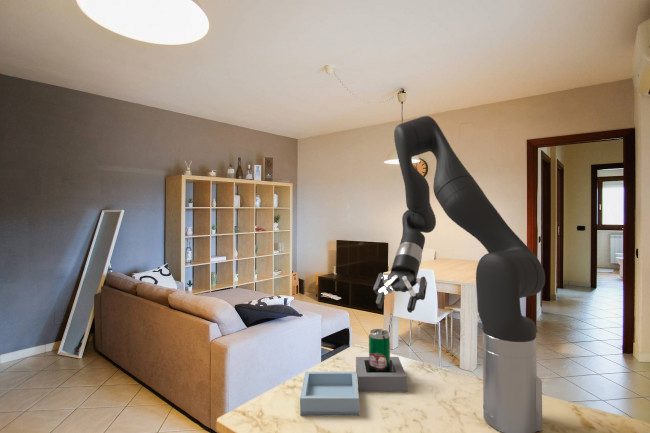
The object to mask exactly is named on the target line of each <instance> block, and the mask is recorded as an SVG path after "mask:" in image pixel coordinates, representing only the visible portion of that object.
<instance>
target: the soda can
mask: <svg viewBox="0 0 650 433" xmlns="http://www.w3.org/2000/svg"><path fill="white" fill-rule="evenodd" d="M390 338H391V336H390V334H389V331H388V330H387V329H383V328H373V329H371V330H370V333H369V334H368V357H369V373H390V357H391V341H390V340H391V339H390Z"/></svg>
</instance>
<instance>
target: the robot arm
mask: <svg viewBox="0 0 650 433" xmlns="http://www.w3.org/2000/svg"><path fill="white" fill-rule="evenodd" d="M393 131H394V132H393V133H394V134H393V138H394V139H393V140H394V145H395V150H396V156H397V158H398V164H399V168H400V170H401V171H400V172H401V176H402V180H403V183H404V190H405V191H404V192H405V204H406V208H407V210H406V211H404V213H403V214H402V220H401V224H402V236H401V240H400V243H399V246H398V248H397V250H396V253H395V256H394V259H393V263H392V266H391V269H390V273H388V275H386V274H385V275H384V273H382V272H380V273H378V275H377V278H376V281H375V283H374V285H373V291H374V293H375V294H376V300H375V303H376V306H377V308H378V309H382V308H383V305H384V301H385V297H386V296H387V295H388V294H391V293H393V292H397V293H398V292H402V293H406V292H408V293H409V295H410V296H409V299H408V303H407V307H406V308H407V312H408V313H410V314H411V313H413V312H414V311H415V309H416V305H417V301H420V300H421V301H424V300H425V298H426V294H427V293H426V292H427V286H428V281H427V278H426V276H421V277H419V278H417V277H418V274H419V270H420V265H421V264H422V257H423V255H422V254H423V251H424V247H425V244H426V237H425V235H424V233H425V234H428V233H431V232H433V231H434V229H435V228H436V225H437V224H436V223H437V218H436V215H435V213H434V210H433V208H432V205H431V200H430V199H431V197H430V195H431V194H430V191H431V190H430V185H429V183H428V180H427V179H426V177H425V176H424V175H423V174H422V173H421V172H420V171H419V170H417V168H416V167H415V166H414V165H413V159H412V158H414V157H416V156H419V155H422V154H425V153H429V152H431V153H432V154H433V155H434V157H435V161H436V166H435V173H434V178H433V184H432V185H433V188H432V189H433V194H434V197H435V199H436V200H437V202H438V204H439V205H440V206H441V208H442V210H443V211H444V213H445V214H446V216H447V217H448V218H449V219H450V220H451V221H452V222H453V223H455V224H456V225H458V226H459V227H460V228H461V229H463V230H464V231H466V232H467V233H469V234H470V235H471V236H472V237H474V238H475V239H476V240H477V241H478V242H479V243H480V244H481V245H482V246H483V247H484V248H485V250H486V251H487V253H486V254H484V255H483V256H482V257H481V258H480V259H479V261H478V263H477V266H476V271H475V285H476V303H477V312H478V317H479V318H480V321H481V325H482V385H483V386H482V395H483V396H482V398H483V399H482V400H483V402H482V409H483V419H484V421H485V422H486V423H487V425H489V426H490V427H491V428H493V429H495V430H497V431H499V432H501V433H536V432H543V381H542V379H541V378H540V377H539V376H538V375H537V372H538V371H537V370H538V369H537V326H536V323H535V321H533V319H531V318H530V317H527V316H524V315H522V309H521V298H526V297H531V296H535V295H537V294H539V293H540V292H541V291H542V290H543V289H544V287H545V284H546V272H545V269H544V267H543V265H542V263H541V261H540V260H539V259H538V257H537V256H536V254H535V253H533V251H532V250H531V249H530V248H529V247H528V246H527V244H526V243H525V242H524V241H523V240H522V239H521V238H520V237H519V236H518V235H517V234H516V233H515V231H514V230H513V229H512V228H511V227H510V226H509V225H508V224H507V222H506V221H505V220H504V218H503V217H502V216H501V214H500V212H498V210H497V209H496V208H495V206H494V204H493V203H491V201H490V200H489V198H488V197H487V196H486V194H485V192H484V191H483V189H482V188H481V186H480V185H479V184H478V183H477V181H476V180H475V178H474V177H473V176H472V174H471V173H470V172H469V171H468V169H467V168H466V167H465V166H464V164H463V162H461V160H460V158H459V156H457V154H456V153H455V151H454V149H453V148H452V146H451V144H450V143H449V141H448V139H447V137H446V136H445V134H444V133H443V131H442V129H441V127H440V126H439V124H438V123H437V121H436V120H435V119H434V118H433V117H432V116H430V115H429V116H428V115H424V116H419V117H417V118H413V119H411V120H408V121H405V122H402V123H399V124H398V125H396V126H395V128H394V130H393ZM417 284H418V286H419V288H418V292H416V291H415V290H414V288H413V287H415V286H416V285H417Z"/></svg>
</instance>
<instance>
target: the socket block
mask: <svg viewBox="0 0 650 433" xmlns="http://www.w3.org/2000/svg"><path fill="white" fill-rule="evenodd" d="M355 372H356V378H357V386H358V393H367V392H368V393H371V392H373V393H374V392H375V393H376V392H377V393H378V392H379V393H382V392H383V393H384V392H385V393H392V392H393V393H394V392H396V393H397V392H398V393H399V392H400V393H403V392H404V393H405V392H406V393H407V392H408V386H407V385H408V383H407V382H408V377H407V374H406V372H405V369H404V367H403V365H402V363H401V359H400V357H399V356H390V373H369V356H356V357H355Z"/></svg>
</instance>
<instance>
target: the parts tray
mask: <svg viewBox="0 0 650 433" xmlns="http://www.w3.org/2000/svg"><path fill="white" fill-rule="evenodd" d="M299 414H300V416H332V417H333V416H351V417H352V416H354V417H355V416H356V417H357V416H358V417H359V416H360V395H359V390H358V382H357V374H356V371H305V372H304V377H303V382H302V386H301V392H300V397H299Z"/></svg>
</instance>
